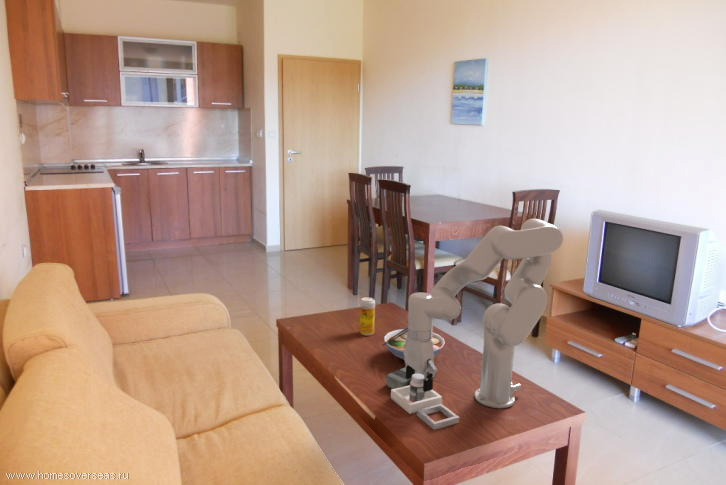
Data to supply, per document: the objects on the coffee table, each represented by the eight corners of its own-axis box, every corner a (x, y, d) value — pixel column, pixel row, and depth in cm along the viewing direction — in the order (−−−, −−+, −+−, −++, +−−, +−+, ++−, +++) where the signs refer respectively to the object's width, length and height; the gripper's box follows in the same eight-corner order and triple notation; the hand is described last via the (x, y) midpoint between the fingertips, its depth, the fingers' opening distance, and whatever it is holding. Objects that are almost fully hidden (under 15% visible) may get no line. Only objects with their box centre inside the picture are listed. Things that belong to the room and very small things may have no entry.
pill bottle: (406, 398, 176) (407, 374, 174) (419, 396, 178) (420, 371, 176) (413, 405, 171) (415, 380, 170) (427, 402, 173) (428, 378, 172)
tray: (421, 390, 182) (422, 382, 182) (441, 405, 173) (442, 396, 172) (390, 398, 177) (391, 389, 176) (409, 414, 167) (410, 405, 167)
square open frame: (440, 408, 171) (441, 403, 170) (458, 422, 163) (459, 417, 163) (416, 415, 167) (416, 409, 166) (434, 429, 159) (434, 424, 159)
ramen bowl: (424, 378, 191) (426, 356, 190) (369, 361, 204) (370, 340, 202) (455, 354, 212) (456, 334, 210) (403, 340, 224) (404, 321, 222)
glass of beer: (357, 335, 229) (358, 300, 225) (362, 330, 234) (363, 296, 231) (371, 337, 227) (372, 302, 224) (375, 331, 233) (376, 297, 229)
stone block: (383, 386, 185) (383, 372, 184) (413, 374, 194) (413, 361, 193) (401, 396, 179) (402, 381, 178) (432, 383, 188) (432, 369, 187)
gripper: (395, 325, 176) (394, 375, 179) (426, 344, 161) (424, 398, 164) (414, 322, 179) (413, 370, 183) (447, 340, 164) (445, 393, 168)
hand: (418, 384), depth 174 cm, fingers open, 9 cm apart
